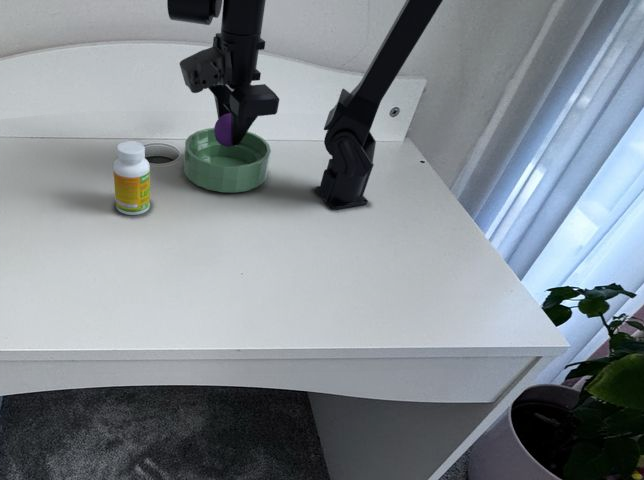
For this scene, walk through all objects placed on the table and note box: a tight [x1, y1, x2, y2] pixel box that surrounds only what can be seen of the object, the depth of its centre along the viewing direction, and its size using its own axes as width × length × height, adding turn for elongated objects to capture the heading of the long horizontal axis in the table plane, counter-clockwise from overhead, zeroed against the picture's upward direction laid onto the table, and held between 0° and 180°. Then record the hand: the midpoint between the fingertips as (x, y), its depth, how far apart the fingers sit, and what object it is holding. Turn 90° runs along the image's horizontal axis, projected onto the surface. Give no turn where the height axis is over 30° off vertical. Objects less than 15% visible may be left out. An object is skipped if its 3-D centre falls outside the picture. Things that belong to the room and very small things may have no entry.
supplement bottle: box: [113, 140, 151, 216], centre depth 76 cm, size 5×5×10 cm
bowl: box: [183, 127, 272, 193], centre depth 85 cm, size 14×14×5 cm
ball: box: [213, 113, 233, 147], centre depth 81 cm, size 5×5×5 cm
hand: (229, 138), depth 82 cm, fingers closed on ball, 5 cm apart
